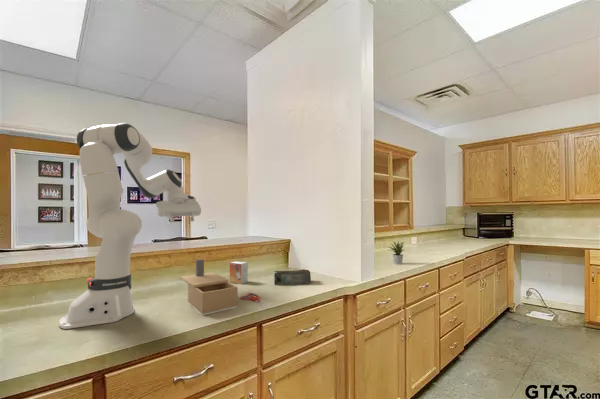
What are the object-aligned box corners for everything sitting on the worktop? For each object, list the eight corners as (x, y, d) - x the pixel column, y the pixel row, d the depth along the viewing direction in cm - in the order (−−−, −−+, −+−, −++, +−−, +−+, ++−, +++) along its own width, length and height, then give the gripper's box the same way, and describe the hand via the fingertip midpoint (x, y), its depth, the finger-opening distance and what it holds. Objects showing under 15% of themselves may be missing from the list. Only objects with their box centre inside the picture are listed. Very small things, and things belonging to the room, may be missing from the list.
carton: (202, 315, 109) (202, 293, 109) (188, 302, 123) (188, 283, 123) (237, 307, 117) (237, 287, 117) (220, 296, 131) (220, 278, 132)
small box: (229, 282, 156) (229, 262, 157) (236, 280, 161) (236, 260, 162) (241, 284, 153) (241, 263, 153) (247, 281, 158) (247, 262, 158)
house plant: (395, 260, 217) (394, 238, 218) (412, 263, 207) (412, 240, 207) (383, 263, 208) (383, 240, 209) (401, 266, 198) (401, 241, 198)
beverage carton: (273, 281, 158) (273, 269, 159) (309, 280, 160) (309, 268, 161) (274, 285, 150) (274, 272, 151) (311, 284, 153) (311, 271, 153)
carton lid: (193, 287, 116) (193, 267, 117) (180, 278, 131) (181, 260, 132) (228, 282, 125) (228, 263, 125) (212, 274, 140) (213, 257, 140)
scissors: (268, 310, 115) (267, 306, 115) (237, 299, 129) (237, 295, 129) (282, 305, 120) (282, 302, 120) (251, 295, 135) (251, 292, 135)
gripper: (156, 196, 144) (160, 216, 136) (198, 197, 156) (204, 215, 148) (154, 205, 148) (158, 226, 140) (195, 205, 160) (201, 224, 152)
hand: (182, 220), depth 144 cm, fingers open, 8 cm apart
